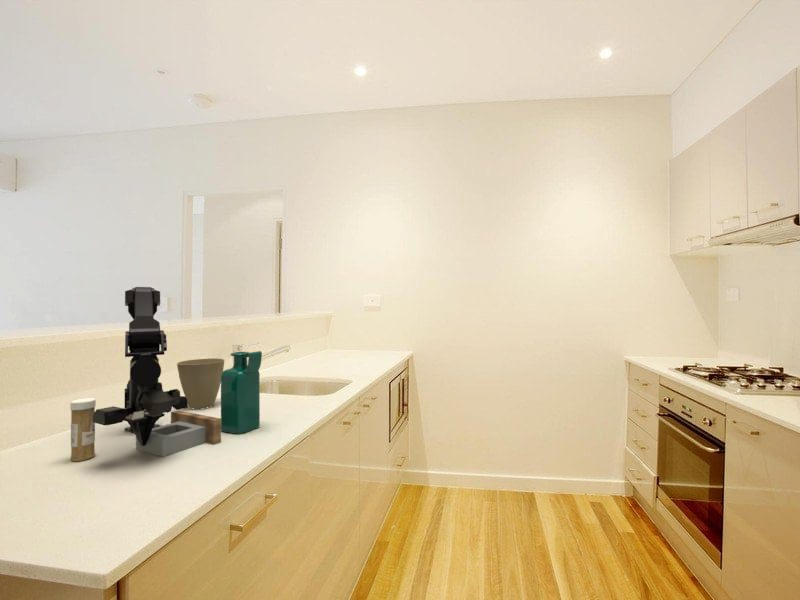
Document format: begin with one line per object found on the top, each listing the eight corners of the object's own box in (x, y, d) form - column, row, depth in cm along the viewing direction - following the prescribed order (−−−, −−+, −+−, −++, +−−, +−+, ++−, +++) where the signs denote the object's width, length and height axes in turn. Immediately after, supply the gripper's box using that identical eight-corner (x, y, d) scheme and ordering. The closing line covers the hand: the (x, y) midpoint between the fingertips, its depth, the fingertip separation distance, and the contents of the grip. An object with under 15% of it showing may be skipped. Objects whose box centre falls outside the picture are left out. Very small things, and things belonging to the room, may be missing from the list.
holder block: (135, 449, 97) (136, 432, 97) (179, 436, 107) (179, 421, 107) (162, 456, 92) (162, 439, 92) (205, 442, 101) (205, 426, 102)
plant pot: (194, 401, 146) (194, 358, 147) (232, 402, 145) (232, 358, 145) (166, 412, 132) (166, 364, 132) (209, 413, 130) (209, 364, 130)
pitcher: (217, 431, 110) (217, 352, 111) (240, 423, 118) (240, 349, 119) (244, 435, 107) (244, 353, 107) (266, 426, 114) (266, 350, 115)
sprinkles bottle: (94, 459, 91) (94, 400, 91) (68, 463, 88) (69, 403, 88) (96, 453, 95) (96, 396, 95) (71, 457, 92) (71, 399, 92)
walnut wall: (170, 434, 108) (170, 412, 109) (178, 432, 110) (178, 410, 110) (213, 444, 100) (213, 420, 100) (220, 442, 102) (220, 418, 102)
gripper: (119, 388, 82) (117, 465, 81) (202, 375, 98) (201, 439, 98) (92, 384, 87) (90, 456, 87) (175, 372, 104) (174, 433, 103)
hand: (143, 445), depth 93 cm, fingers closed
